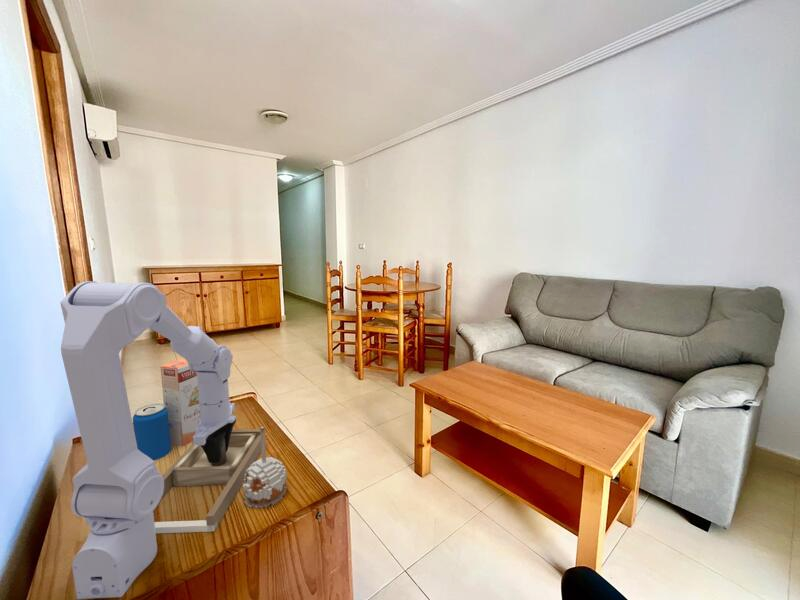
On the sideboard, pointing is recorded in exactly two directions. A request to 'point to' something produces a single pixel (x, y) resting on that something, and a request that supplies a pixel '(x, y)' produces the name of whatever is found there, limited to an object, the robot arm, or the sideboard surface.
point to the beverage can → (152, 430)
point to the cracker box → (181, 400)
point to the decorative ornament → (264, 480)
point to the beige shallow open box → (202, 472)
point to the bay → (223, 499)
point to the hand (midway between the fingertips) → (218, 456)
